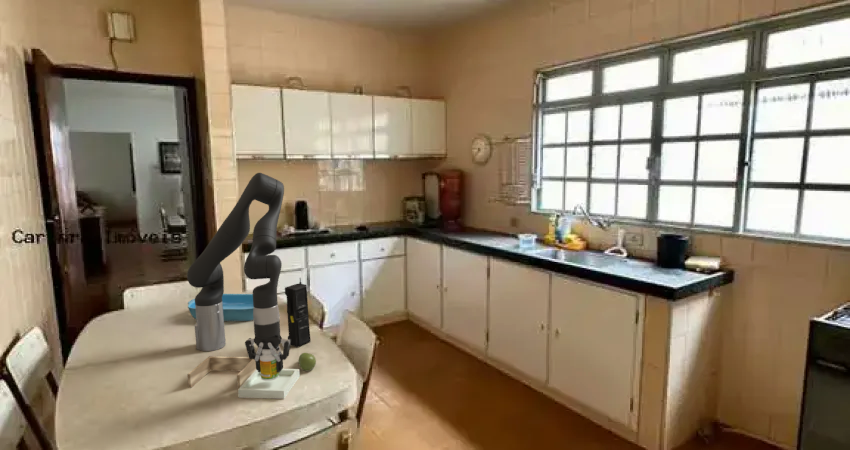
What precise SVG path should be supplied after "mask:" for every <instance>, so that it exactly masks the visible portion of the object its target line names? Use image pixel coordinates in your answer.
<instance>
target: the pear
mask: <svg viewBox="0 0 850 450" xmlns="http://www.w3.org/2000/svg"><path fill="white" fill-rule="evenodd" d="M297 360H298V361H297V362H298V365H299V367H300V369H301V370H303V371H306V372H308V371H312V370H313V369H314V368H315V367H316V364H317V363H316V362H317V359H316V356H315V355H314V354H313V353H308V352H303V353H301V354H300V355H299V356H298V359H297Z"/></svg>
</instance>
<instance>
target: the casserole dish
mask: <svg viewBox="0 0 850 450" xmlns="http://www.w3.org/2000/svg"><path fill="white" fill-rule="evenodd" d="M222 304H223V316H224V322H250V321H254V319H253V309H254V306H253V293H251V294H250V293H223V296H222ZM187 309H188V311H189V312H190V315H191V316H192V318H194V319H195V320H197V319H196V308H195V298H192V299H191V300H189V301H188V302H187Z"/></svg>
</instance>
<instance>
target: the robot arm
mask: <svg viewBox="0 0 850 450" xmlns="http://www.w3.org/2000/svg"><path fill="white" fill-rule="evenodd" d="M284 194H285V186H284V183H283V182H282V181H280V180H278V179H276V178H275V177H272V176H269V175H267V174H265V173H262V172H257V173H255V174H254V175H253V176H252V177H251V178H250V180H249V181H248V182H247V184H246V186H245V188H244V190H243V192H242V194H241V195H240V197H239V198H238V201H237V202H236V204H235V205H234V207H233V208H232V209H231V211H230V212H229V214H228V215H227V216H226V218H225V219H224V220H223V222H222V223H221V225H220V226H219V228H218V229H217V231H216V232H215V234H214V235H213V237H212V238H211V240H210V241H209V243H208V244H207V245H206V247H205V248H204V250H203V251H202V252H201V254H200V255H199V256H198V257H197V258H196V259H195V261H193V262H192V263H191V264H190V266H189V268H188V270H187V273H186V278H187V281H188V283H189V285H190V286H191V287H194V288H196V289H200V288H201V289H200V290H199V292H198V293H197V294H196V295H195V297H194V299H195V308H196V319H195V320H196V323H195V324H194V335H195V346H196V350H200V351H202V352H210V351H211V352H212V351H217V350H220V349H222V348H224V347H225V346H226V344H227V343H226V331H225V321H224V316H223V304H222V296H223V294H225V293H224V291H225V288H224V287H225V286H224V285H225V284H224V282H225V281H224V277H225V276H224V270H223V266H222V264H221V262H223V261H224V260H225V259H226V258H228V257H229V256H230V255H231V254H233V253H234V252H235V251H237V249H238V248H240V246H241V245H242V244H243V243H244V242H245V240H246V238H247V237H248V236H249V234H250V230H251V222H250V221H251V220H250V206H251V204H252V202H254V201H258V202H259V203H262V204H265V205H267V206H268V210H267V212H266V213H264V215H263V216H262V217H261V218H259V219H258V220H257V222H256V223H255V224H254V227H253V231H252V243H251V248H250V250H249V253H248V254H247V257H246V260H245V261H244V267H243V270H244V271H243V273H244V275H245V276H246V278H247V279H249V280H262V279H263V280H264V279H265V280H266V279H269V281H268V282H266V283H264V284H260V285H257V286H255V287H254V288H253V289H252V294H253V306H254V309H253V319H254V320H253V331H254V333H253V334H254V338H251V337H249V338H247V340H245V342H244V345H245V348H246V353H247V357H249V359H254V360H255V361H256V370H258V372H261V369H260V356H261V354H262V349H271V351H272V353H273V355H274V356H275V358H276V360H277V362H276V366H277V373H280V371H281V370H282V369H284V361H285V360H287V359H288V357H289V356H290V350H291V345H290V344H291V339H288V338H287V339H285V338H282V335H281V325H280V323H281V322H280V321H281V320H280V318H281V317H280V316H281V315H280V309H279V305H278V285H279V284H278V283H279V278H280V276H281V275H280V274H281V272H282V271H281V270H282V268H283V267H282V261H281V258H280V256H278V255H277V254H273V253H274V252H275V251H276V249H277V229H278V223H279V218H280V214H281V209H282V204H283V200H284ZM280 344H281V345H282V347H283V350H282V349H281V346H280ZM255 345H256V346H257V351H256V350H255V349H256V348H255Z"/></svg>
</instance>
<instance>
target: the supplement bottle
mask: <svg viewBox="0 0 850 450" xmlns="http://www.w3.org/2000/svg"><path fill="white" fill-rule="evenodd" d="M276 362H277V360H276V358H275V356H274V355H273V353H272V351H271V349H262V354H261V356H260V369H261V379H262V380H265V381H270V380H274V379H276V378H278V376H279V373H277V366H276Z"/></svg>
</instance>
